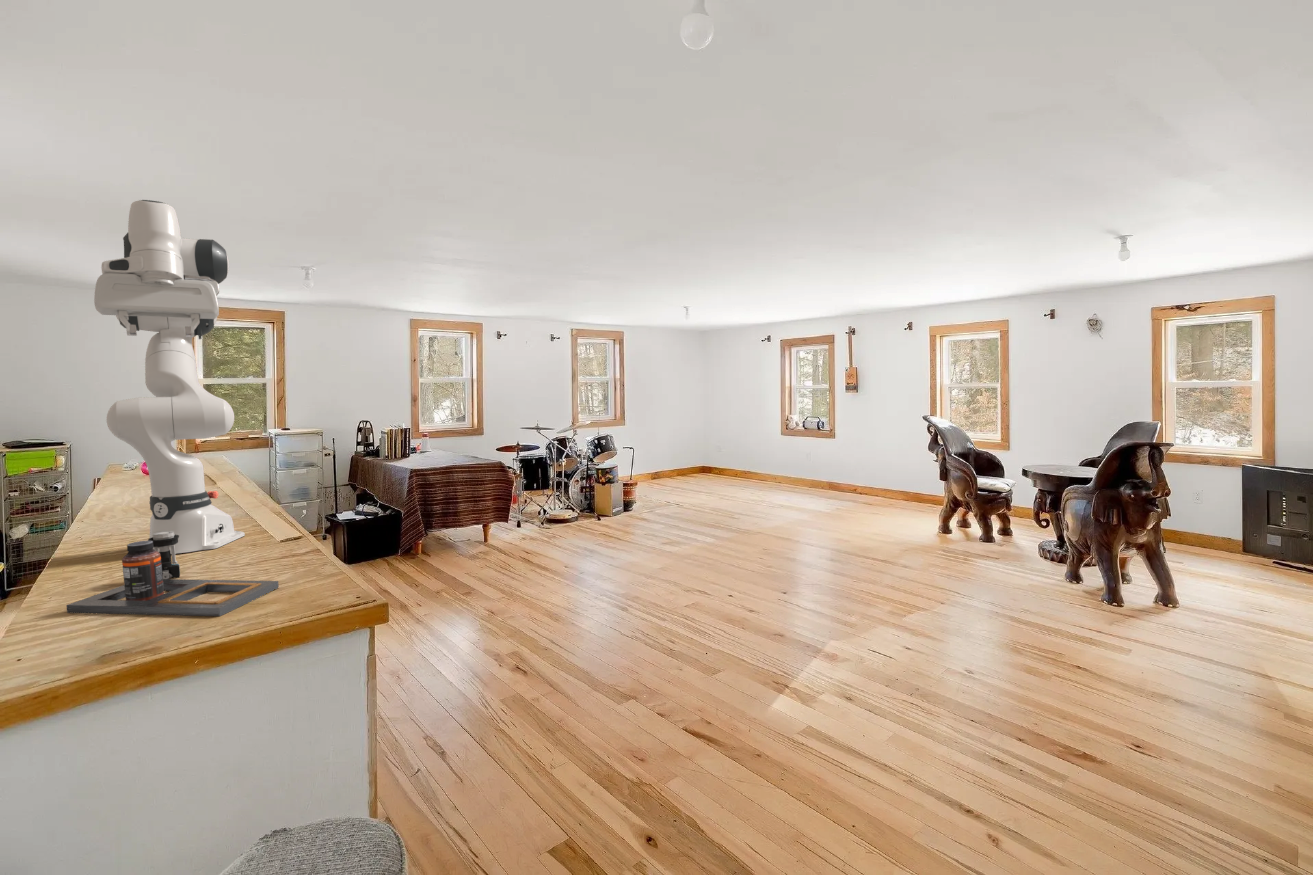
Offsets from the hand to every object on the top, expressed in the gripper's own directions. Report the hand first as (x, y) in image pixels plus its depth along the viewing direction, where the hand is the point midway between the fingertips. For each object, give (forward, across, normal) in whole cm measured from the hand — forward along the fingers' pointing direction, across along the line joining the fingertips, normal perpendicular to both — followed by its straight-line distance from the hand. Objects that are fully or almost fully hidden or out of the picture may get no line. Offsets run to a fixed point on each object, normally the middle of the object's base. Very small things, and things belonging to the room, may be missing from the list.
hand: (161, 335), depth 131 cm
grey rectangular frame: (+53, 0, -5) cm, 53 cm away
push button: (+47, +3, -24) cm, 53 cm away
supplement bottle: (+52, +6, -9) cm, 53 cm away
